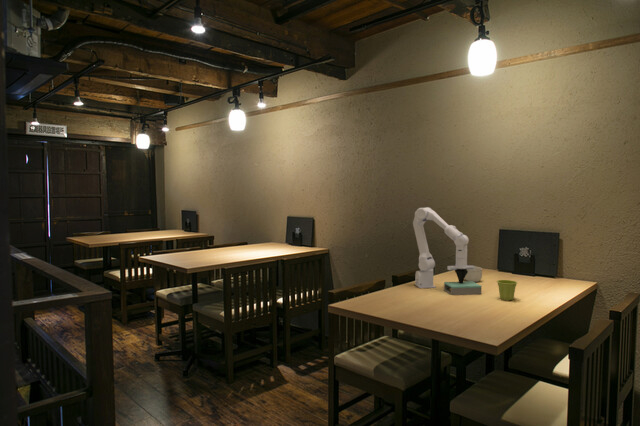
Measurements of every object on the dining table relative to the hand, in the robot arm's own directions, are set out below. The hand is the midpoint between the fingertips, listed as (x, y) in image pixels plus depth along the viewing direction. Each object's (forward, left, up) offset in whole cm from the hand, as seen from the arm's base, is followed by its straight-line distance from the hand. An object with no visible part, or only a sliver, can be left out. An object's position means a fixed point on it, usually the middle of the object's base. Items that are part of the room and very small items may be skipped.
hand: (460, 283), depth 226 cm
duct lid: (0, -2, -1) cm, 2 cm away
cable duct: (0, -2, -4) cm, 5 cm away
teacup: (+18, +25, -5) cm, 31 cm away
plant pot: (+16, -17, -5) cm, 24 cm away
